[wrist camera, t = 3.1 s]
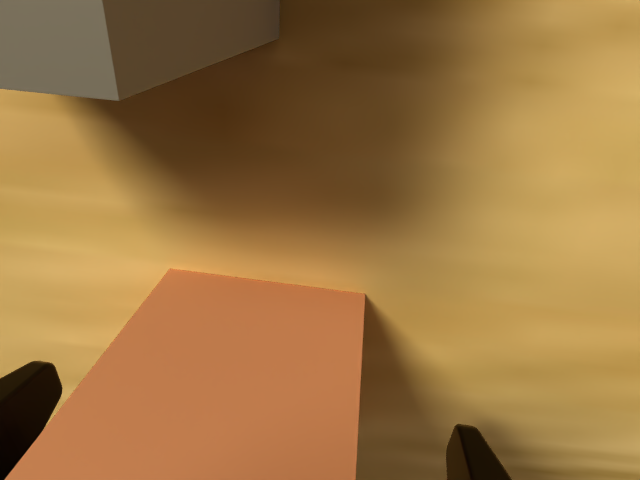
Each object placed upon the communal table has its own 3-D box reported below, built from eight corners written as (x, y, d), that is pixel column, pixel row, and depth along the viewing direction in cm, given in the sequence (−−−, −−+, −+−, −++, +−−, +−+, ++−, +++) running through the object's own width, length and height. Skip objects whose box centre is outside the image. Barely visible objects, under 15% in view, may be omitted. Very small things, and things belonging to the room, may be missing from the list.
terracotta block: (188, 398, 12) (42, 703, 7) (170, 267, 10) (-71, 575, 4) (345, 422, 12) (318, 761, 6) (365, 293, 9) (346, 656, 4)
